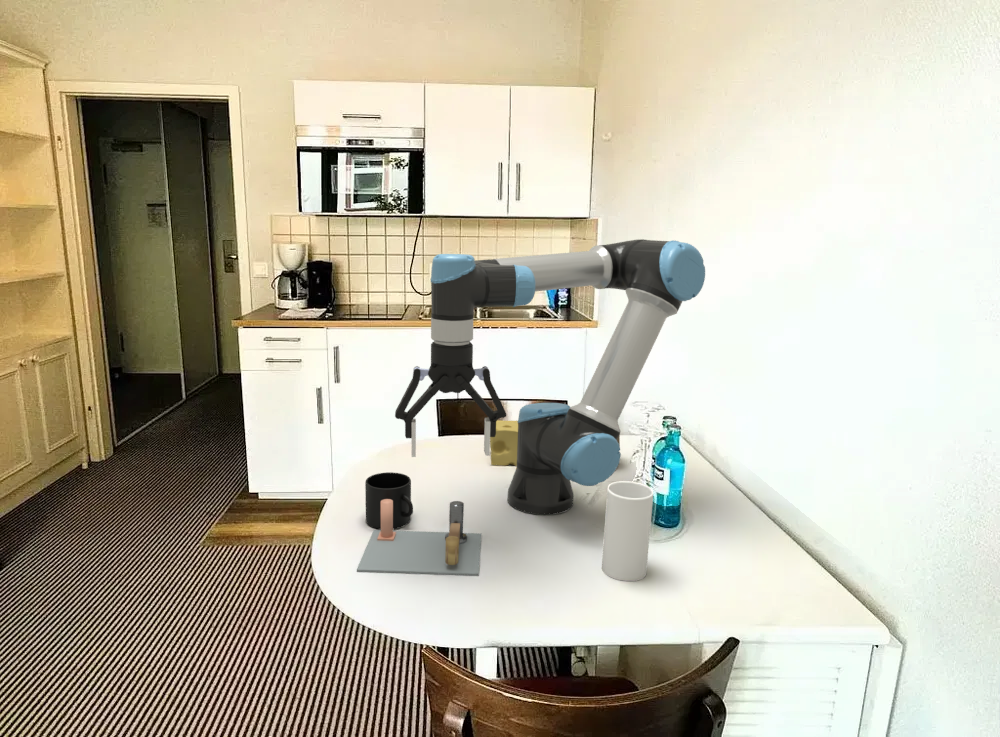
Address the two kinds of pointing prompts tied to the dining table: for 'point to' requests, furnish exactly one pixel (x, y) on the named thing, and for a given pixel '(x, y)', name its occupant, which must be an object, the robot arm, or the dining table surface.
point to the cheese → (504, 443)
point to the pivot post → (457, 518)
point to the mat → (420, 554)
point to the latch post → (386, 521)
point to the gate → (452, 544)
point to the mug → (388, 488)
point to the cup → (627, 530)
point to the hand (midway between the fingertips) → (450, 454)
